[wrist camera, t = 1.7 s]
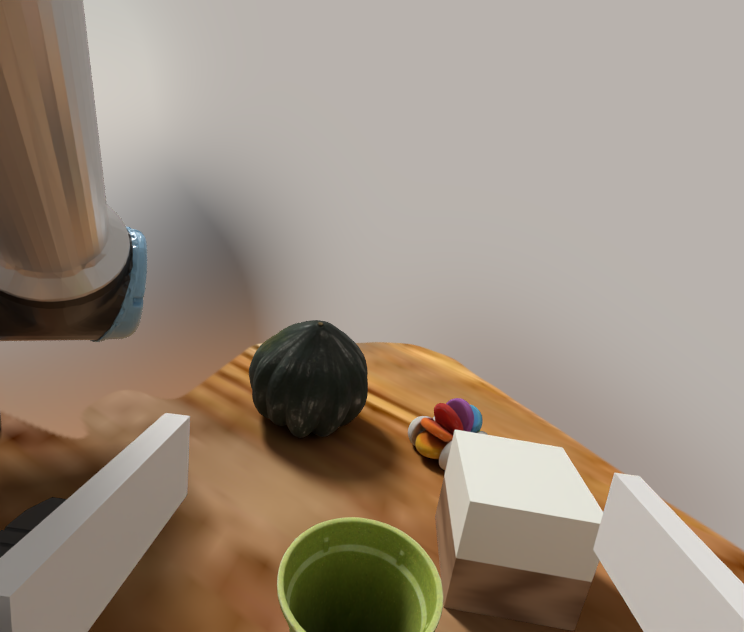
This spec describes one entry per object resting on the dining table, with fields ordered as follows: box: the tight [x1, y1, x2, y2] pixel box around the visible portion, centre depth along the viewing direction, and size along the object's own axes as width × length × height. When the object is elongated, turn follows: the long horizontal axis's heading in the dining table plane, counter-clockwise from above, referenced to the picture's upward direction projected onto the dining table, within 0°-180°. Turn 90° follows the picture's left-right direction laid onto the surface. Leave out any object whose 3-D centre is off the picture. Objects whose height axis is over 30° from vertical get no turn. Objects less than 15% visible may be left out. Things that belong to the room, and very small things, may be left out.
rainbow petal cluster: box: [408, 398, 488, 470], centre depth 54 cm, size 8×10×7 cm
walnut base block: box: [435, 477, 592, 631], centre depth 38 cm, size 10×10×5 cm
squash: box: [249, 320, 368, 438], centre depth 56 cm, size 14×15×15 cm
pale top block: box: [444, 430, 603, 582], centre depth 37 cm, size 10×10×5 cm
